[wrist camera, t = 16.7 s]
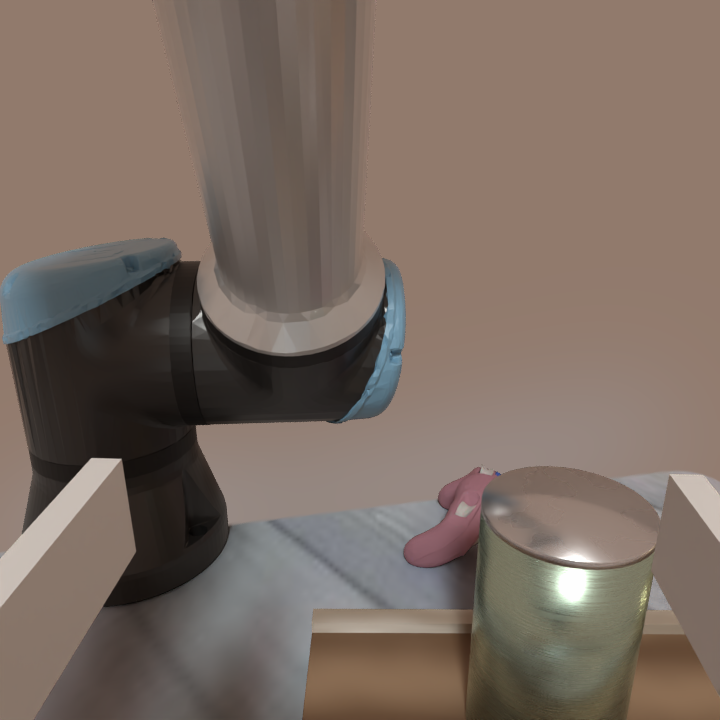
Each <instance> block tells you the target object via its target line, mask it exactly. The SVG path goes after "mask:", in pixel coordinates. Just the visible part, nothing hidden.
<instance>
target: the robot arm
mask: <svg viewBox="0 0 720 720" xmlns="http://www.w3.org/2000/svg"><path fill="white" fill-rule="evenodd" d="M152 1H153V5H154V10H155V14H156V18H157V22H158V26H159V30H160V34H161V38H162V42H163V46H164V50H165V54H166V58H167V63H168V67H169V71H170V75H171V79H172V83H173V87H174V91H175V95H176V99H177V103H178V107H179V112H180V116H181V120H182V124H183V128H184V132H185V136H186V140H187V144H188V148H189V152H190V156H191V160H192V164H193V168H194V173H195V177H196V181H197V185H198V188H199V193H200V197H201V201H202V205H203V209H204V213H205V217H206V221H207V225H208V229H209V233H210V238H211V243H210V244H209V246H208V247H207V248H206V250H205V252H204V254H203V256H202V259H201V261H181V260H180V258H181V251H180V250H179V249H178V248H177V244H176V243H175V242H174V241H173V240H171V239H167V238H160V239H152V238H144V239H134V240H126V241H118V242H112V243H106V244H100V245H95V246H89V247H84V248H80V249H75V250H70V251H66V252H62V253H58V254H54V255H50V256H47V257H43V258H40V259H37V260H34V261H31V262H28V263H26V264H24V265H21V266H19V267H18V268H16V269H14V270H13V271H11V272H10V273H9V274H8V275H7V277H5V279H4V280H3V282H2V285H1V288H0V302H1V311H2V321H3V330H4V335H3V343H4V344H6V345H7V350H8V355H9V360H10V365H11V369H12V374H13V379H14V384H15V388H16V393H17V397H18V402H19V407H20V412H21V417H22V422H23V427H24V431H25V436H26V441H27V445H28V449H29V454H30V459H31V465H32V471H33V475H32V481H31V486H30V492H29V498H28V504H27V509H26V514H25V519H24V525H23V530H22V535H21V537H20V538H19V539H18V540H17V541H16V542H15V543H14V544H13V545H12V546H11V547H10V549H9V550H8V551H7V552H6V553H5V554H4V555H3V556H2V557H1V558H0V720H34V718H35V717H36V715H37V713H38V712H39V710H40V708H41V707H42V705H43V703H44V702H45V700H46V699H47V697H48V695H49V694H50V692H51V690H52V689H53V687H54V685H55V684H56V682H57V681H58V679H59V677H60V676H61V674H62V672H63V671H64V669H65V667H66V666H67V664H68V663H69V661H70V659H71V658H72V656H73V654H74V653H75V651H76V649H77V648H78V646H79V644H80V643H81V641H82V640H83V638H84V636H85V635H86V633H87V631H88V630H89V628H90V626H91V625H92V623H93V622H94V620H95V618H96V617H97V615H98V613H99V612H100V610H101V608H102V607H103V606H113V605H121V604H126V603H132V602H136V601H140V600H144V599H147V598H150V597H153V596H156V595H159V594H162V593H164V592H167V591H169V590H171V589H173V588H175V587H177V586H179V585H181V584H183V583H185V582H187V581H188V580H190V579H192V578H193V577H195V576H196V575H197V574H199V573H200V572H202V571H203V570H204V569H205V568H206V567H207V566H209V565H210V564H211V563H212V562H213V561H214V560H215V558H216V557H217V556H218V555H219V553H220V552H221V550H222V549H223V547H224V545H225V543H226V540H227V536H228V518H227V508H226V502H225V499H224V496H223V494H222V492H221V490H220V488H219V486H218V484H217V482H216V479H215V478H214V475H213V473H212V471H211V469H210V467H209V465H208V463H207V461H206V459H205V457H204V455H203V453H202V451H201V449H200V447H199V445H198V442H197V434H196V425H210V424H239V423H271V422H272V423H274V422H307V421H327V422H329V423H342V422H345V421H347V420H352V419H364V418H371V417H375V416H377V415H379V414H380V413H382V412H383V411H384V410H385V409H386V408H387V407H388V405H389V404H390V402H391V400H392V398H393V396H394V394H395V391H396V389H397V385H398V381H399V377H400V373H401V366H402V358H401V351H402V349H403V347H404V340H405V326H406V318H405V317H406V311H405V296H404V288H403V282H402V277H401V274H400V271H399V269H398V267H397V266H396V264H394V263H393V262H392V261H391V260H387V259H384V258H381V255H380V253H379V250H378V248H377V246H376V245H375V243H374V242H373V240H372V239H371V238H370V236H369V235H368V234H367V233H366V232H365V231H364V213H365V195H366V178H367V159H368V140H369V123H370V104H371V85H372V68H373V49H374V31H375V12H376V0H152ZM651 571H652V573H653V575H654V577H655V579H656V581H657V583H658V584H659V586H660V588H661V590H662V592H663V594H664V595H665V597H666V599H667V601H668V603H669V605H670V607H671V608H672V610H673V612H674V614H675V616H676V618H677V620H678V621H679V623H680V625H681V627H682V629H683V631H684V632H685V634H686V636H687V638H688V640H689V642H690V644H691V645H692V647H693V649H694V651H695V653H696V655H697V657H698V658H699V660H700V662H701V664H702V666H703V668H704V670H705V671H706V673H707V675H708V677H709V679H710V681H711V682H712V684H713V686H714V688H715V690H716V692H717V694H718V695H719V697H720V495H719V494H718V492H717V491H716V490H715V489H714V487H713V486H712V485H711V484H710V483H709V481H708V480H707V479H706V478H705V477H704V475H681V474H669V479H668V485H667V490H666V495H665V500H664V505H663V511H662V516H661V521H660V526H659V531H658V537H657V542H656V547H655V552H654V557H653V563H652V568H651Z"/></svg>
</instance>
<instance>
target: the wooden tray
mask: <svg viewBox="0 0 720 720" xmlns="http://www.w3.org/2000/svg"><path fill="white" fill-rule="evenodd" d="M472 620H473V610H457V609H313V617H312V639H311V648H310V656H309V665H308V674H307V683H306V692H305V700H304V709H303V718H302V720H466V699H467V686H468V672H469V659H470V646H471V633H472ZM627 720H720V697H719V695H718V694H717V692H716V690H715V688H714V686H713V684H712V682H711V681H710V679H709V677H708V675H707V673H706V671H705V670H704V668H703V666H702V664H701V662H700V660H699V658H698V657H697V655H696V653H695V651H694V649H693V647H692V645H691V644H690V642H689V640H688V638H687V636H686V634H685V632H684V631H683V629H682V627H681V625H680V623H679V621H678V620H677V618H676V616H675V614H674V612H673V610H647V612H646V617H645V623H644V628H643V634H642V639H641V644H640V650H639V655H638V661H637V666H636V671H635V677H634V682H633V688H632V693H631V698H630V704H629V709H628V715H627Z"/></svg>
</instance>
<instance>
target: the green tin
mask: <svg viewBox="0 0 720 720" xmlns="http://www.w3.org/2000/svg"><path fill="white" fill-rule="evenodd" d="M659 526H660V518H659V516H658V514H657V512H656V511H655V509H654V508H653V507H652V506H651V505H650V504H649V502H648V501H646V500H645V499H644V498H643V497H642V496H640V495H639V494H638V493H636V492H635V491H633V490H632V489H630V488H628V487H626V486H625V485H622V484H620V483H618V482H616V481H614V480H611V479H609V478H606V477H604V476H600V475H597V474H594V473H590V472H587V471H582V470H577V469H571V468H564V467H552V466H539V467H526V468H521V469H516V470H512V471H509V472H506V473H503V474H501V475H499V476H497V477H496V478H494V479H493V480H492V481H490V482H489V483H488V485H487V486H486V487H485V489H484V491H483V494H482V501H481V514H480V527H479V540H478V554H477V567H476V580H475V593H474V606H473V620H472V633H471V646H470V659H469V672H468V686H467V699H466V720H627V715H628V709H629V704H630V698H631V693H632V688H633V682H634V677H635V671H636V666H637V661H638V655H639V650H640V644H641V639H642V634H643V628H644V623H645V617H646V612H647V607H648V601H649V596H650V590H651V585H652V580H653V573H652V571H651V568H652V563H653V557H654V552H655V547H656V542H657V537H658V531H659Z"/></svg>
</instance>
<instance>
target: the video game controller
mask: <svg viewBox="0 0 720 720" xmlns="http://www.w3.org/2000/svg"><path fill="white" fill-rule="evenodd" d="M499 475H501V474H500V473H498V472H495V471H494V470H493V469H486V468H485V467H484V466H483V465H482V467H481V468H480V467H477V468H475V469H474V470H473V471H472V472H470V473H469V474H468V475H466V476H464V477H462V478H460V479H458V480H455V481H453V482H451V483H449V484H447V485H445V486H444V487H443V488H442V489H441V491H440V492H439V496H438V500H439V503H440V504H441V506H442V507H444V508H445V509H448V512H447V514H446V516H445V518H444V519H443V520H442V521H441V523H439V524H438V525H436V526H435V527H433V528H432V529H430V530H428V531H426V532H424V533H422V534H419V535H417V536H415V537H413V538H412V539H411V540H410V541H409V542H408V543H407V544H406V545H405V548H404V556H405V559H406V560H407V561H408V563H410V564H412V565H414V566H417V567H424V568H428V567H436V566H439V565H443V564H445V563H447V562H449V561H451V560H453V559H455V558H458V557H459V556H463V555H464V554H465V553H466V552H467V551H468V550H469V549H470V548H471V547H472V546H474V545H476V544H478V540H479V527H480V514H481V501H482V494H483V491H484V489H485V487H486V486H487V485H488V483H489V482H490V481H492V480H493V479H494V478H496V477H497V476H499ZM477 549H478V546H477Z"/></svg>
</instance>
